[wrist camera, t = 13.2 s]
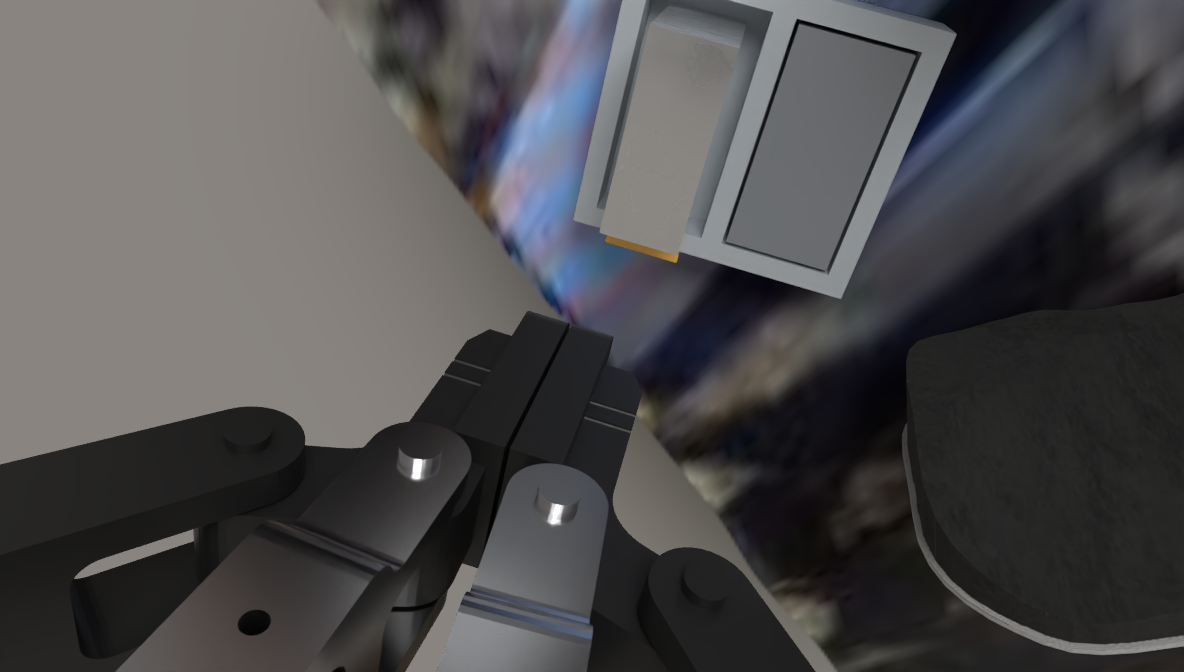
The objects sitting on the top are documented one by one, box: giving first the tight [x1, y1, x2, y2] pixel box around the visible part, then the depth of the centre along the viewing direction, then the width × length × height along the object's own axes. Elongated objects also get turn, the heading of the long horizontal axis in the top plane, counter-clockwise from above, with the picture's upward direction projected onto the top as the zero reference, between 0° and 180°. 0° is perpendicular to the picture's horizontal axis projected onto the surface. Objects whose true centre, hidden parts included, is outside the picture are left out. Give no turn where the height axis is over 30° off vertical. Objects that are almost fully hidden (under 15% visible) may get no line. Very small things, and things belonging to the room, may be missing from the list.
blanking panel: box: [599, 2, 747, 255], centre depth 28 cm, size 7×3×6 cm, turn 168°
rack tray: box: [573, 0, 957, 299], centre depth 30 cm, size 11×11×3 cm
